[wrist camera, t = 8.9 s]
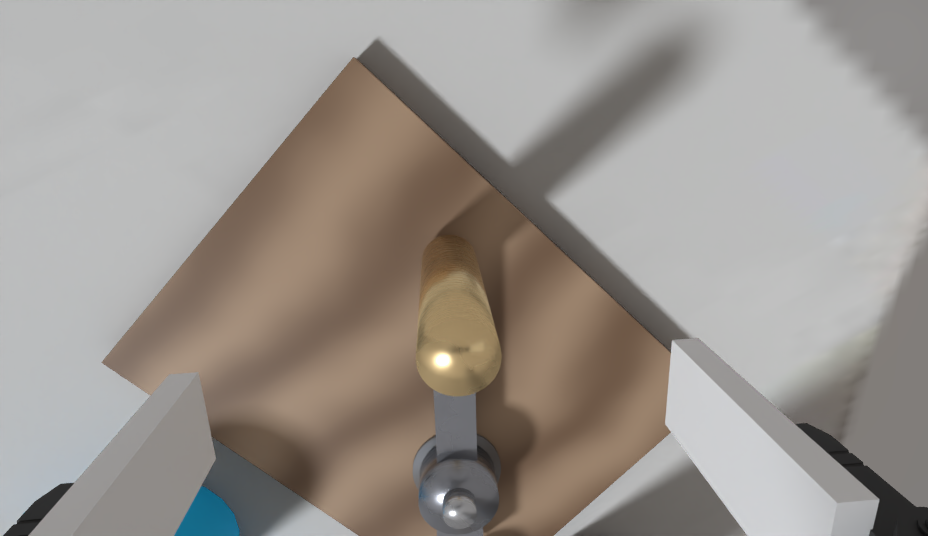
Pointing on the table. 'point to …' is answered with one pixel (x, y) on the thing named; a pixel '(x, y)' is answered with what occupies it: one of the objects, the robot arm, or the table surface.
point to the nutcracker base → (395, 329)
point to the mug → (208, 517)
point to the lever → (456, 387)
